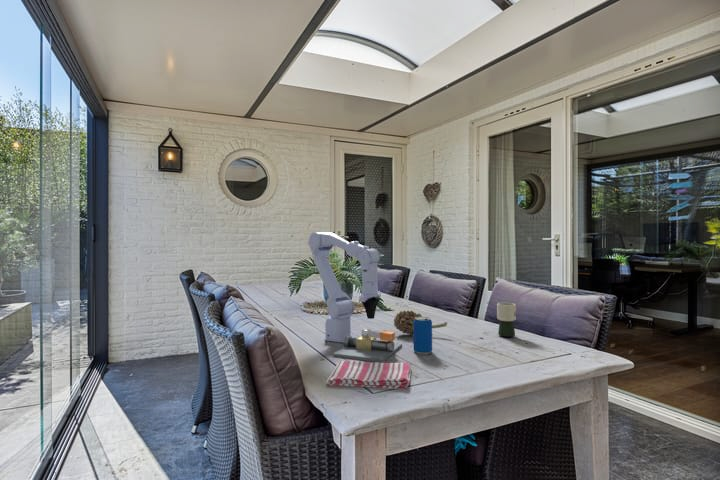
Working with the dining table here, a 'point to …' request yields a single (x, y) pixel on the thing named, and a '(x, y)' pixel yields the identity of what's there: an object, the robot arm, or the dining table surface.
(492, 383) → the dining table surface
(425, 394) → the dining table surface
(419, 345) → the beverage can
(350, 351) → the base board
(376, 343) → the valve pipe
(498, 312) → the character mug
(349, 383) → the dish towel
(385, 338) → the valve lever
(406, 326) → the pine cone
